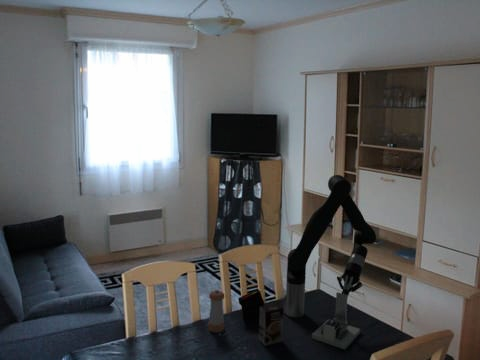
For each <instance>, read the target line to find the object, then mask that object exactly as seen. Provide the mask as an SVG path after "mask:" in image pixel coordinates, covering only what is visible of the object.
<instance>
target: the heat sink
mask: <svg viewBox="0 0 480 360" xmlns="http://www.w3.org/2000/svg"><path fill="white" fill-rule="evenodd" d="M327 320H328V319H327ZM327 320H326V321H327ZM331 320H332V319H330V318H329V320H328V321H327V322H326V321H325V322H326V323H325V322H324V323H325V324H326V325H329V326H332V327H335V330H336V337H335V338H336V339H339V340H342V339H343V338H344V337H345V336H346V335H347V334H348V332H349V330H347V328H348V323H347V324H346V325H345V326H344V327H343V324H344V323H341V324H340V325H339V322H337V323H336V324H335V321H333V320H332V321H333V322H332V323H331ZM322 325H323V324H322ZM322 325H321V326H322ZM323 330H324V325H323V326H322V330H321V334H323Z"/></svg>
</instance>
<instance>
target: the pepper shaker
mask: <svg viewBox="0 0 480 360" xmlns="http://www.w3.org/2000/svg"><path fill="white" fill-rule="evenodd" d="M208 296H209V297H208V298H209V299H210V310H209V315H208V316H209V321H208V330H209V331H210V332H212V333H221V332H223V331H224V330H225V320H224V307H223V300H224V298H225V294H224V292H223V291H221V290H218V289H215V290H212V291H211V292H210V293H209V295H208Z"/></svg>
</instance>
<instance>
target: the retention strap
mask: <svg viewBox="0 0 480 360" xmlns="http://www.w3.org/2000/svg"><path fill="white" fill-rule="evenodd" d="M348 297H349V295H346V294H342V292H338V291H337V292H336V296H335V312H334V318H336V319H339V320H343V321H347V322H348V318H347V311H348V310H347V308H348ZM334 318H333V319H334Z"/></svg>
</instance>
